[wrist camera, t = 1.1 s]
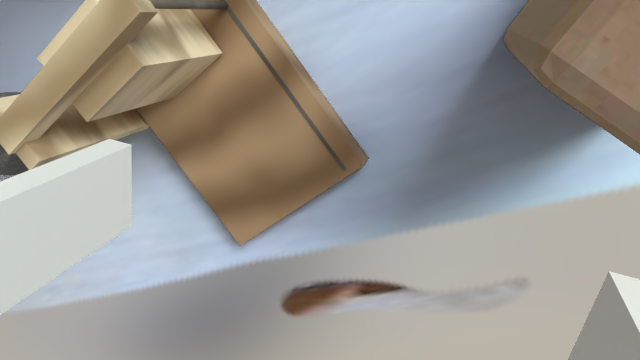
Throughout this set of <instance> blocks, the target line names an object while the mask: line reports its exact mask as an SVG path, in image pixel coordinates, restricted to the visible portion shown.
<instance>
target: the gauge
mask: <svg viewBox="0 0 640 360" xmlns="http://www.w3.org/2000/svg"><path fill="white" fill-rule="evenodd" d="M227 8H228V4H227V2H225V1H209V0H85V1H84V3H83V4H82V5H81V6H80V7H79V9H78V10H77V11H76V12H75V13H74V15H73V16H72V17H71V18H70V19H69V21H68V22H67V23H66V24H65V25H64V27H63V28H62V29H61V30H60V31H59V33H58V34H57V35H56V36H55V37H54V39H53V40H52V41H51V42H50V43H49V45H48V46H47V47H46V48H45V49H44V51H43V52H42V53H41V54H40V55H39V57H38V60H39V61H40V62H41V64H42V65H43V68H42V69H41V70H40V71H39V72H38V74H37V75H36V76H35V77H34V78H33V79H32V81H31V82H30V83H29V84H28V85H27V86H26V88H25V89H24V90H23V91H22V92H21V93H20V94H19V95H13V96H7V97H2V98H0V144H1V145H2V147H3V148H4V149H5V150H6V152H7V153H8V154H9V155H10V154H13V153H16V154H17V155H18V157H19V158H20V159H21V160H22V162H23V163H24V164H25V165H26V167H27V168H28V169H29V170H31V169H34V168H36V167H39V166H41V165H44V164H46V163H49V162H51V161H54V160H57V159H59V158H62V157H64V156H67V155H69V154H72V153H74V152H77V151H79V150H82V149H85V148H87V147H90V146H92V145H95V144H97V143H100V142H102V141H105V140H107V139H112V140H118V139H121V138H123V137H126V136H129V135H132V134H135V133H137V132H140V131H143V130H146V129H148V128H149V125H148V124H147V123H146V121H145V120H144V119H143V117H142V116H141V115H140V113H139V112H138V111H137V110H136V108H139V107H142V106H146V105H149V104H153V103H157V102H160V101H164V100H167V99H171V98H174V97H176V96H177V95H178V94H179V93H180V92H181V91H182V90H183V89H184V88H185V87H186V86H188V85H189V84H190V83H191V82H192V81H193V80H194V79H195V78H196V77H197V76H198V75H200V74H201V73H202V72H203V71H204V70H205V69H206V68H207V67H208V66H209V65H210V64H212V63H213V62H214V61H215V60H216V59H217V58H218V57H219V56H220V55H221V54H223V53H222V52H221V50H220V49H219V47H218V46H217V45H216V43H215V42H214V41H213V39H212V38H211V36H210V35H209V34H208V32H207V31H206V30H205V28H204V27H203V25H202V24H201V23H200V21H199V20H198V19H197V17H196V16H195V15H194V13H193V12H192V10H191V9H210V10H226V9H227Z"/></svg>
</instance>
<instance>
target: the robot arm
mask: <svg viewBox="0 0 640 360" xmlns="http://www.w3.org/2000/svg"><path fill="white" fill-rule="evenodd" d="M131 226H132V145H131V144H127V143H123V142H120V141H116V140H112V139H107V140H105V141H102V142H100V143H97V144H95V145H92V146H90V147H87V148H85V149H82V150H79V151H77V152H74V153H72V154H69V155H67V156H64V157H62V158H59V159H57V160H54V161H51V162H49V163H46V164H44V165H41V166H39V167H36V168H34V169H31V170H29V171H26V172H23V173H21V174H18V175H16V176H13V177H11V178H8V179H6V180H3V181H0V315H1V314H3V313H4V312H6V311H7V310H9V309H10V308H12V307H13V306H15V305H16V304H18V303H19V302H20V301H22V300H23V299H25V298H26V297H28V296H29V295H31V294H32V293H34V292H35V291H37V290H38V289H40V288H41V287H43V286H44V285H46V284H47V283H49V282H50V281H52V280H53V279H54V278H56V277H57V276H59V275H60V274H62V273H63V272H65V271H66V270H68V269H69V268H71V267H72V266H74V265H75V264H77V263H78V262H80V261H81V260H83V259H84V258H86V257H87V256H89V255H90V254H91V253H93V252H94V251H96V250H97V249H99V248H100V247H102V246H103V245H105V244H106V243H108V242H109V241H111V240H112V239H114V238H115V237H117V236H118V235H120V234H121V233H123V232H124V231H125V230H127V229H128V228H130V227H131ZM568 360H640V279H636V278H632V277H628V276H625V275H621V274H617V273H613V272H608V274H607V277H606V279H605V281H604V283H603V285H602V288H601V290H600V292H599V294H598V296H597V298H596V301H595V302H594V305H593V307H592V309H591V311H590V313H589V315H588V317H587V320H586V322H585V324H584V326H583V328H582V331H581V332H580V335H579V337H578V339H577V341H576V343H575V345H574V347H573V350H572V352H571V354H570V356H569V358H568Z"/></svg>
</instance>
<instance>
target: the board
mask: <svg viewBox="0 0 640 360" xmlns="http://www.w3.org/2000/svg"><path fill="white" fill-rule="evenodd" d="M209 1H225V2H227V4H228V8H227V9H226V10H210V9H191V10H192V12H193V13H194V15H195V16H196V17H197V19H198V20H199V21H200V23H201V24H202V25H203V27H204V28H205V30H206V31H207V32H208V34H209V35H210V36H211V38H212V39H213V41H214V42H215V43H216V45H217V46H218V47H219V49H220V50H221V52H222V53H223V54H221V55H220V56H219V57H218V58H217V59H216V60H215V61H214V62H213V63H212V64H210V65H209V66H208V67H207V68H206V69H205V70H204V71H203V72H202V73H201V74H200V75H198V76H197V77H196V78H195V79H194V80H193V81H192V82H191V83H190V84H189V85H188V86H186V87H185V88H184V89H183V90H182V91H181V92H180V93H179V94H178V95H177V96H176V97H174V98H171V99H167V100H164V101H160V102H157V103H153V104H149V105H146V106H142V107H139V108H136V110H137V111H138V112H139V113H140V115H141V116H142V117H143V119H144V120H145V121H146V123H147V124H148V125H149V127H150V128H151V129H152V131H153V132H154V133H155V135H156V136H157V137H158V138H159V140H160V141H161V142H162V144H163V145H164V146H165V148H166V149H167V150H168V152H169V153H170V154H171V156H172V157H173V158H174V160H175V161H176V162H177V163H178V165H179V166H180V167H181V169H182V170H183V171H184V173H185V174H186V175H187V177H188V178H189V179H190V181H191V182H192V183H193V184H194V186H195V187H196V188H197V190H198V191H199V192H200V194H201V195H202V196H203V198H204V199H205V200H206V202H207V203H208V204H209V206H210V207H211V208H212V209H213V211H214V212H215V213H216V215H217V216H218V217H219V219H220V220H221V221H222V223H223V224H224V225H225V227H226V228H227V229H228V231H229V232H230V233H231V234H232V236H233V237H234V238H235V240H236V241H237V242H238V244H239V245H240V246H241V245H242V244H244V243H245V242H247V241H248V240H250V239H251V238H253V237H254V236H256V235H258V234H259V233H261V232H262V231H264V230H265V229H267V228H268V227H270V226H271V225H273V224H275V223H276V222H278V221H279V220H281V219H282V218H284V217H285V216H287V215H288V214H290V213H291V212H293V211H295V210H296V209H298V208H299V207H301V206H302V205H304V204H305V203H307V202H308V201H310V200H312V199H313V198H315V197H316V196H318V195H319V194H321V193H322V192H324V191H325V190H327V189H328V188H330V187H332V186H333V185H335V184H336V183H338V182H339V181H341V180H342V179H344V178H345V177H347V176H348V175H350V174H352V173H353V172H355V171H356V170H358V169H359V168H361V167H362V166H364V165H365V163H366V162H367V160H368V159H369V158H368V157H367V155H366V154H365V152H364V151H363V150H362V148H361V147H360V145H359V144H358V143H357V141H356V140H355V138H354V137H353V136H352V134H351V133H350V131H349V130H348V129H347V127H346V126H345V124H344V123H343V121H342V120H341V119H340V117H339V116H338V114H337V113H336V112H335V110H334V109H333V107H332V106H331V105H330V103H329V102H328V100H327V99H326V98H325V96H324V95H323V93H322V92H321V91H320V89H319V88H318V86H317V85H316V84H315V82H314V81H313V79H312V78H311V77H310V75H309V74H308V72H307V71H306V70H305V68H304V67H303V65H302V64H301V63H300V61H299V60H298V58H297V57H296V56H295V54H294V53H293V51H292V50H291V49H290V47H289V46H288V44H287V43H286V42H285V40H284V39H283V37H282V36H281V35H280V33H279V32H278V30H277V29H276V28H275V26H274V25H273V23H272V22H271V21H270V19H269V18H268V16H267V15H266V14H265V12H264V11H263V9H262V8H261V7H260V5H259V4H258V2H257V1H256V0H209Z"/></svg>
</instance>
